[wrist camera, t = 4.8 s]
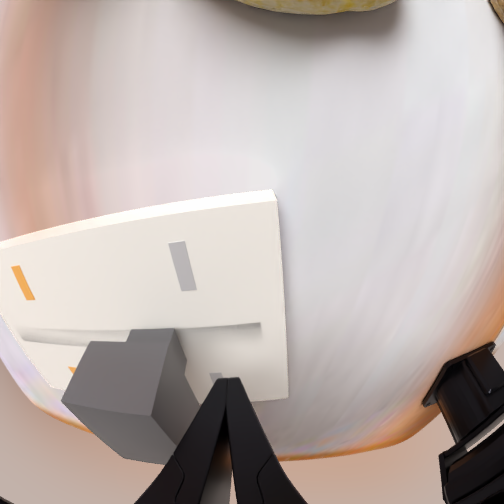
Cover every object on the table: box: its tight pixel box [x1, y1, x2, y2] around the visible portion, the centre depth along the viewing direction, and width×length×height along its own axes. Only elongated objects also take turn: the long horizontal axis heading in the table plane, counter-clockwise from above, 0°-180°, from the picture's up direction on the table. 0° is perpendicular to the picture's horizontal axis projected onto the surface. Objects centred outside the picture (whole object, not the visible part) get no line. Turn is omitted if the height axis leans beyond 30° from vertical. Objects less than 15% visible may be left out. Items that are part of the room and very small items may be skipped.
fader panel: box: [0, 189, 289, 404], centre depth 12 cm, size 11×17×2 cm, turn 96°
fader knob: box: [61, 328, 200, 465], centre depth 9 cm, size 4×3×5 cm
